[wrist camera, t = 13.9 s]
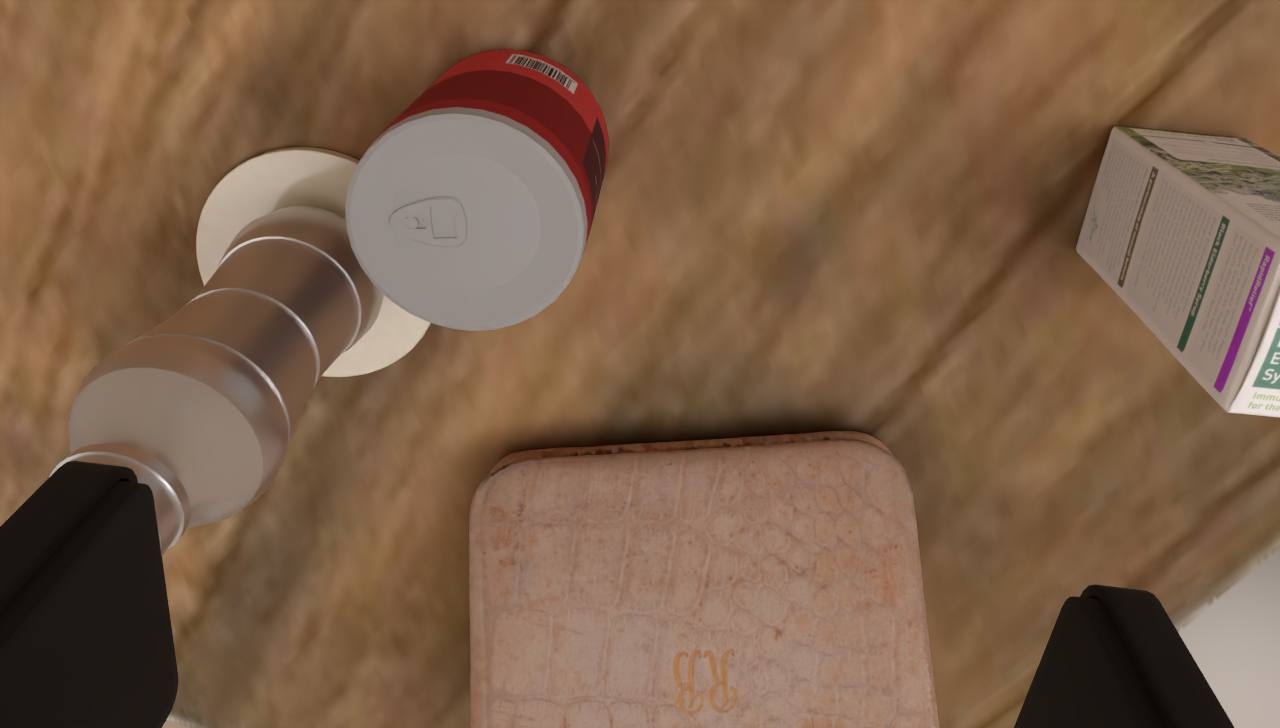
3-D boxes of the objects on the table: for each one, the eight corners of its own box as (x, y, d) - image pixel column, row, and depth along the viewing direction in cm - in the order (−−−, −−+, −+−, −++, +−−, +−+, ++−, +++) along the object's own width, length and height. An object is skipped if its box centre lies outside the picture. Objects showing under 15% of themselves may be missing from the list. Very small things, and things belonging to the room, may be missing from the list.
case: (902, 408, 48) (986, 651, 34) (891, 728, 58) (953, 1021, 44) (477, 430, 50) (389, 669, 36) (535, 737, 60) (484, 1021, 46)
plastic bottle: (240, 184, 44) (-63, 425, 27) (396, 198, 44) (195, 448, 27) (256, 319, 47) (-7, 615, 30) (402, 331, 47) (225, 636, 30)
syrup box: (1069, 252, 44) (1221, 427, 32) (1110, 117, 42) (1294, 248, 29) (1201, 265, 44) (1407, 445, 31) (1251, 130, 42) (1498, 267, 29)
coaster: (189, 131, 44) (183, 134, 43) (444, 163, 44) (442, 166, 43) (210, 357, 49) (206, 362, 48) (439, 385, 49) (437, 390, 49)
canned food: (394, 74, 42) (303, 149, 32) (578, 19, 41) (541, 80, 31) (460, 243, 46) (396, 357, 36) (632, 197, 44) (614, 303, 34)
